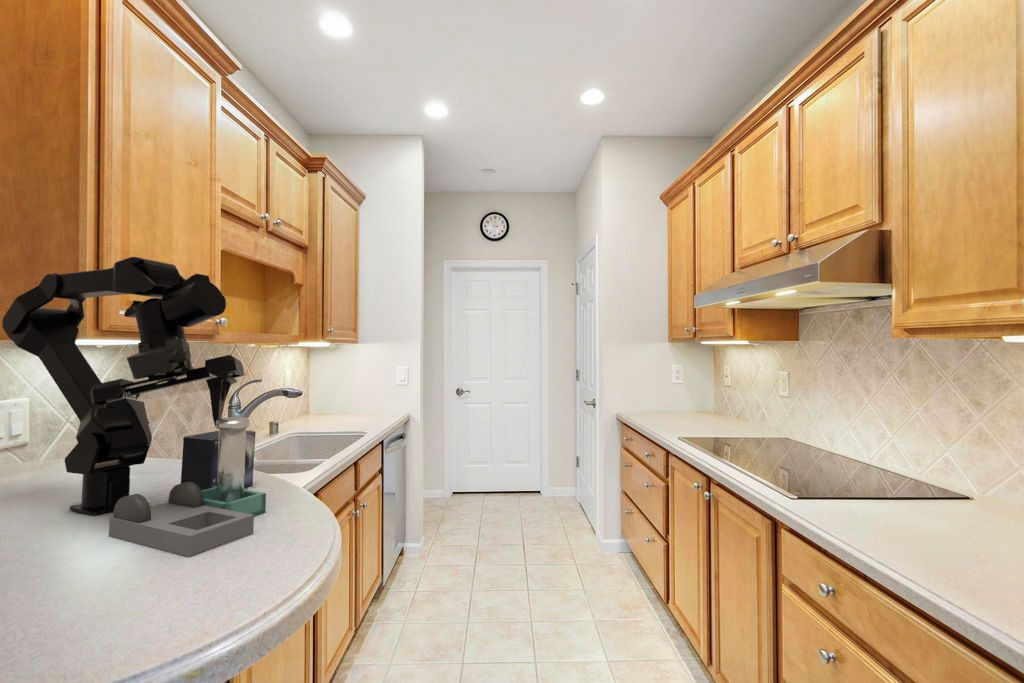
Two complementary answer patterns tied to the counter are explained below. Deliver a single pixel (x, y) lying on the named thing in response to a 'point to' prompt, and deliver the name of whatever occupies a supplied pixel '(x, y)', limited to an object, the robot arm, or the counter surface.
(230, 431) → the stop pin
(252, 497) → the tray
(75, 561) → the counter surface
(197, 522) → the socket plate with bumps
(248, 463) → the small box
